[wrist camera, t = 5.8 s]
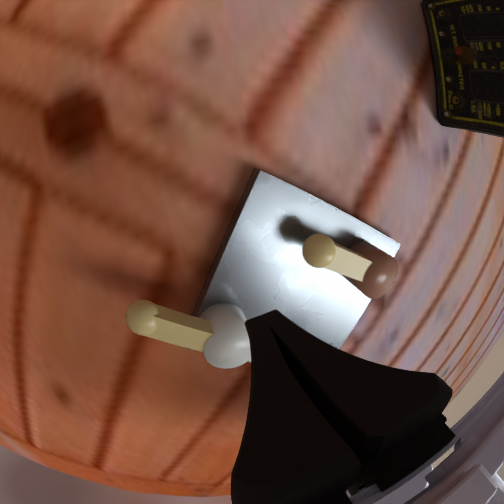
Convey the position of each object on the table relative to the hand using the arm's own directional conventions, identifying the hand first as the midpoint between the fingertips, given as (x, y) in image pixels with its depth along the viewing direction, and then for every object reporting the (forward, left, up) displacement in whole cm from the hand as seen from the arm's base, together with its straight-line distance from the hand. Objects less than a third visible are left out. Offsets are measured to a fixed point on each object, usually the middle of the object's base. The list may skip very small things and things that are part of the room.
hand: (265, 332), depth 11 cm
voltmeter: (-14, -27, -10) cm, 32 cm away
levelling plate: (-7, +1, -9) cm, 12 cm away
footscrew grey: (+1, +5, -8) cm, 10 cm away
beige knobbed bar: (-8, -3, -8) cm, 12 cm away
